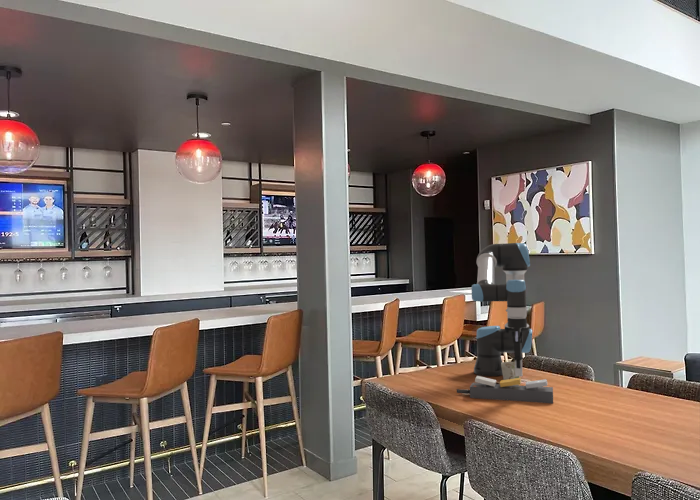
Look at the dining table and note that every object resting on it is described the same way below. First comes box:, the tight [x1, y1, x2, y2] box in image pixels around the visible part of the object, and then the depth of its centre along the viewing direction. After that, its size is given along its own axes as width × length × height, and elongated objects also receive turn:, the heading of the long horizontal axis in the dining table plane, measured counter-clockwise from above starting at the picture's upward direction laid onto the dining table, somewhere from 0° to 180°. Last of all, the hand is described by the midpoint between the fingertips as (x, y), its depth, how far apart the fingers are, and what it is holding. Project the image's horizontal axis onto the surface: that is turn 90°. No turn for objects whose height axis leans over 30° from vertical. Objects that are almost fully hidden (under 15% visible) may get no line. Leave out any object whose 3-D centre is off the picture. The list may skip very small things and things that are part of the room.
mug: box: [501, 361, 520, 380], centre depth 235 cm, size 8×13×10 cm, turn 174°
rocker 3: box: [525, 378, 548, 389], centre depth 212 cm, size 5×8×2 cm, turn 69°
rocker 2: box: [499, 377, 522, 387], centre depth 216 cm, size 5×8×2 cm, turn 69°
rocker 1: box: [474, 375, 497, 387], centre depth 219 cm, size 5×8×2 cm, turn 69°
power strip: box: [456, 382, 554, 404], centre depth 217 cm, size 8×38×5 cm, turn 69°
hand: (518, 375), depth 214 cm, fingers closed
